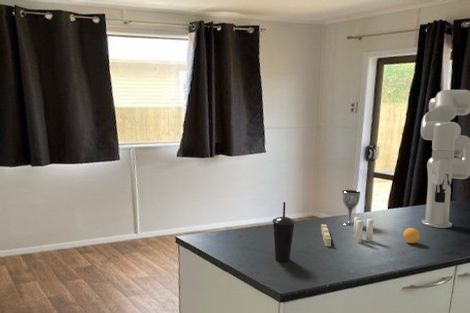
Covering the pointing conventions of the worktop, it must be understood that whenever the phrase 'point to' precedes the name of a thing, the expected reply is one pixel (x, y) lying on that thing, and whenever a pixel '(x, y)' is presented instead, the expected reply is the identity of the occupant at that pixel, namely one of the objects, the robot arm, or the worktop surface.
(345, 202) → the wine glass
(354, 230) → the pin
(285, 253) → the drinking cup
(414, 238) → the ball
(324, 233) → the back wall
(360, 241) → the pin
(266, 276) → the worktop surface
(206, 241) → the worktop surface
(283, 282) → the worktop surface
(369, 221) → the front pin
